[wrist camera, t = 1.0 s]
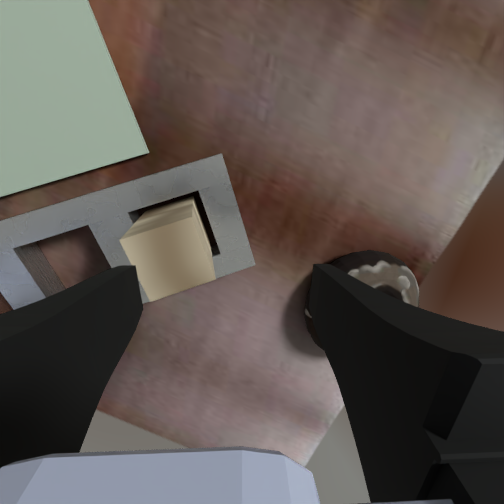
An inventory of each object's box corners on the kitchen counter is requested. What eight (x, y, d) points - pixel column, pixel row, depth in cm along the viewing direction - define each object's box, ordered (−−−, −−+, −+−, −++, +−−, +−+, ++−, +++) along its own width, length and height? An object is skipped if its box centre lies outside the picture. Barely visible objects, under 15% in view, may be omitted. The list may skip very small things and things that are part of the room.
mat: (-14, 201, 19) (-19, 202, 19) (-155, -9, 15) (-166, -14, 14) (149, 152, 20) (148, 152, 20) (64, -58, 16) (60, -65, 15)
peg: (165, 254, 23) (150, 301, 16) (145, 211, 22) (119, 240, 14) (209, 240, 23) (215, 279, 16) (193, 196, 22) (192, 216, 14)
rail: (52, 321, 23) (36, 340, 21) (-15, 225, 20) (-43, 234, 17) (250, 254, 24) (255, 264, 22) (219, 153, 21) (221, 153, 19)
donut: (337, 226, 26) (361, 238, 22) (419, 271, 29) (452, 287, 26) (278, 324, 28) (291, 349, 24) (361, 354, 32) (383, 380, 28)
